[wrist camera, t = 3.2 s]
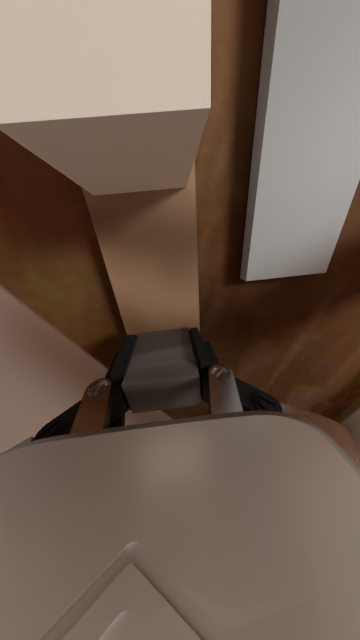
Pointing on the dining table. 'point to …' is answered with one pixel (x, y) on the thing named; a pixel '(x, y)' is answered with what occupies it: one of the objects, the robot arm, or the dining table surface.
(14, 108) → the cream block
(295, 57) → the grey strip
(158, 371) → the brown long piece
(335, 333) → the dining table surface
